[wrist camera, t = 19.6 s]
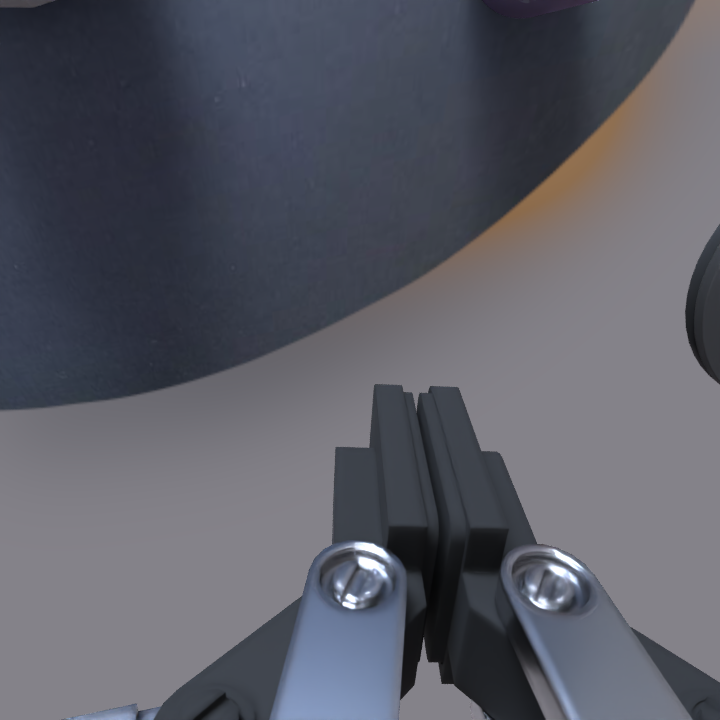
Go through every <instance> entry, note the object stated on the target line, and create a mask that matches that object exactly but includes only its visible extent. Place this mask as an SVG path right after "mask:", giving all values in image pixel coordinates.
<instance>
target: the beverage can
mask: <svg viewBox="0 0 720 720" xmlns="http://www.w3.org/2000/svg"><path fill="white" fill-rule="evenodd" d="M482 1H483V2H484V3H485V4H486V5H487V6H488V7H489V8H491V9H492V10H493V11H495V12H497V13H499V14H501V15H503V16H506V17H510V18H518V19H521V18H530V17H535V16H539V15H543V14H546V13H550V12H554V11H558V10H562V9H566V8H570V7H574V6H578V5H582V4H586V3H590V2H594V1H598V0H482Z"/></svg>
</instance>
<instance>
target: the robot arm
mask: <svg viewBox="0 0 720 720" xmlns="http://www.w3.org/2000/svg"><path fill="white" fill-rule="evenodd" d="M334 476H335V477H334V502H333V534H332V535H333V536H332V545H331V546H329V547H327V548H325V549H324V550H323V551H322V552H321V553H320V554H319V555H318V556H317V557H316V558H315V559H314V561H313V563H312V565H311V567H310V569H309V572H308V576H307V580H306V584H305V587H304V591H303V595H302V596H301V597H300V598H299V599H297V600H296V601H295V602H293V603H292V604H291V605H289V606H288V607H287V608H285V609H284V610H283V611H282V612H280V613H279V614H277V615H276V616H275V617H273V618H272V619H271V620H269V621H268V622H267V623H265V624H264V625H263V626H262V627H260V628H259V629H257V630H256V631H255V632H253V633H252V634H251V635H250V636H248V637H247V638H246V639H244V640H243V641H241V642H240V643H239V644H238V645H236V646H235V647H234V648H232V649H231V650H230V651H228V652H227V653H226V654H224V655H223V656H222V657H220V658H219V659H218V660H216V661H215V662H214V663H213V664H211V665H210V666H208V667H207V668H206V669H204V670H203V671H202V672H201V673H199V674H198V675H196V676H195V677H194V678H192V679H191V680H190V681H189V682H187V683H186V684H184V685H183V686H182V687H180V688H179V689H178V690H177V691H176V692H175V693H174V694H173V695H172V696H171V697H170V698H168V700H166V701H165V702H164V703H163V705H162V706H161V707H156V708H152V709H147V710H143V711H138V707H137V704H132V705H128V706H123V707H118V708H114V709H109V710H104V711H100V712H96V713H91V714H86V715H81V716H77V717H72V718H68V719H63V720H399V708H400V700H401V699H402V698H403V697H404V696H405V695H406V694H407V692H408V691H409V690H410V689H411V688H412V687H413V686H414V684H415V678H416V671H417V665H418V662H419V661H420V656H421V650H422V643H423V637H424V640H425V648H426V654H427V659H428V662H438V663H439V669H440V676H441V682H442V684H454V685H455V686H456V687H457V688H458V689H459V690H460V691H462V692H463V693H464V694H465V695H466V696H468V697H469V698H470V699H471V703H470V709H471V714H472V719H473V720H720V683H719V682H718V681H716V680H715V679H713V678H711V677H710V676H708V675H707V674H705V673H704V672H702V671H700V670H699V669H697V668H696V667H694V666H692V665H691V664H689V663H688V662H686V661H684V660H683V659H681V658H679V657H678V656H676V655H675V654H673V653H672V652H670V651H668V650H667V649H665V648H664V647H662V646H660V645H659V644H657V643H655V642H654V641H652V640H650V639H649V638H648V637H646V636H644V635H643V634H641V633H640V632H638V631H636V630H635V629H633V628H631V627H630V626H629V625H628V623H627V622H626V621H625V619H624V618H623V616H622V615H621V613H620V612H619V610H618V609H617V607H616V606H615V605H614V603H613V601H612V600H611V598H610V597H609V596H608V594H607V593H606V591H605V590H604V588H603V587H602V585H601V584H600V582H599V581H598V579H597V578H596V577H595V575H594V574H593V573H592V572H591V571H590V569H589V568H588V567H587V566H586V565H585V564H584V563H583V562H581V561H580V560H579V559H577V558H576V557H575V556H573V555H572V554H570V553H568V552H565V551H563V550H561V549H559V548H556V547H552V546H548V545H544V544H537V542H536V540H535V537H534V535H533V532H532V530H531V528H530V525H529V522H528V520H527V518H526V515H525V513H524V510H523V508H522V505H521V503H520V500H519V498H518V495H517V493H516V491H515V488H514V486H513V483H512V481H511V478H510V476H509V473H508V471H507V468H506V466H505V463H504V461H503V459H502V457H501V455H500V453H498V452H490V451H487V452H486V451H481V449H480V447H479V443H478V441H477V438H476V435H475V432H474V430H473V427H472V424H471V421H470V418H469V416H468V413H467V410H466V407H465V404H464V402H463V399H462V396H461V393H460V390H459V388H458V387H440V386H439V387H438V386H430V388H429V391H428V393H420V394H419V397H418V405H417V413H416V408H415V403H414V398H413V394H412V393H409V392H403V388H402V385H382V384H381V385H380V384H375V385H374V394H373V407H372V420H371V433H370V447H369V448H355V447H336V450H335V474H334Z"/></svg>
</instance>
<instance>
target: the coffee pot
mask: <svg viewBox="0 0 720 720" xmlns="http://www.w3.org/2000/svg"><path fill="white" fill-rule="evenodd" d="M52 1H55V0H0V7H22V8H34V7H37V6H40V5H43V4H46V3H49V2H52Z"/></svg>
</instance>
